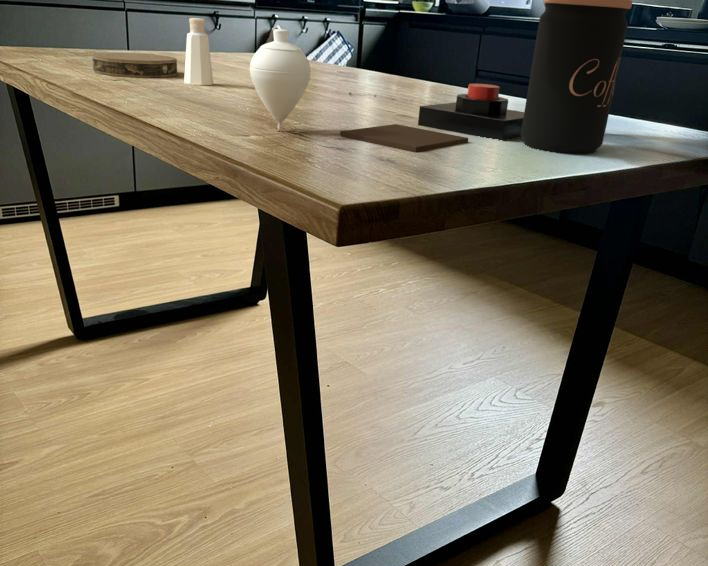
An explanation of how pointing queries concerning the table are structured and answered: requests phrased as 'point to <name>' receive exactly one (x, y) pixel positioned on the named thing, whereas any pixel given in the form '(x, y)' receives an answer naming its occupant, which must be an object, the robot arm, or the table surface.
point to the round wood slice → (134, 65)
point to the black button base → (474, 117)
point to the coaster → (404, 137)
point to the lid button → (483, 91)
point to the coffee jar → (574, 74)
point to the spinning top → (280, 75)
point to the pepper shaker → (197, 55)
